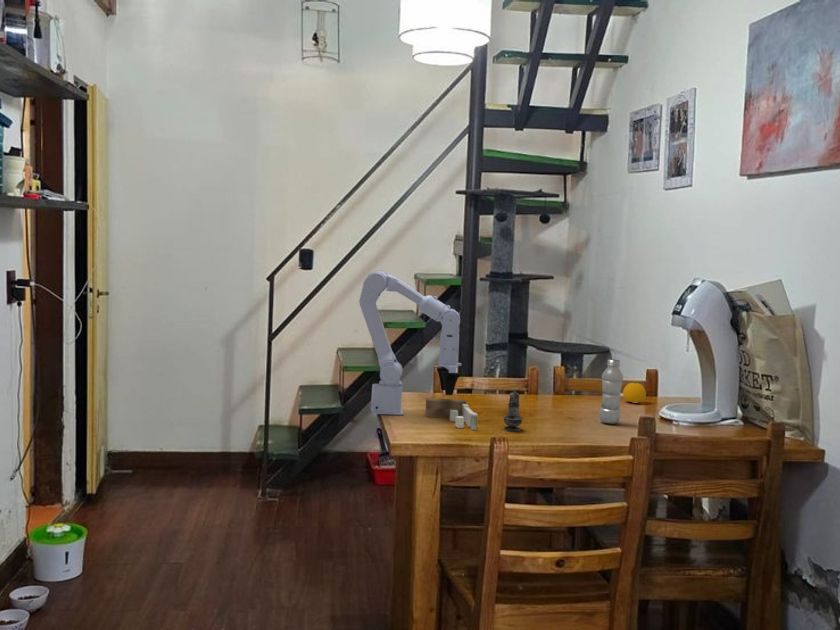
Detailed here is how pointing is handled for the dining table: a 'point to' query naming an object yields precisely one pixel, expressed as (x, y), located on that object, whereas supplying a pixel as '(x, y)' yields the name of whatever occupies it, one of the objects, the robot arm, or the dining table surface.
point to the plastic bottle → (611, 393)
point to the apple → (634, 392)
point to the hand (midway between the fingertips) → (446, 392)
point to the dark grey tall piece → (513, 413)
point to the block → (443, 407)
